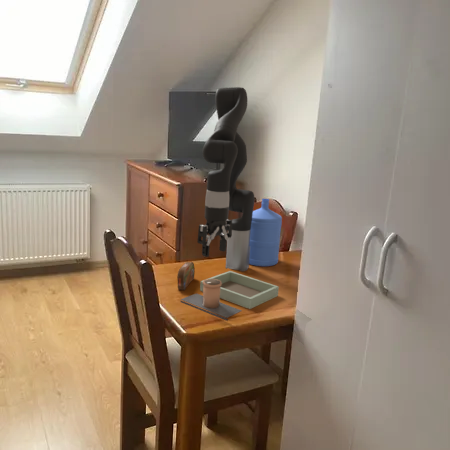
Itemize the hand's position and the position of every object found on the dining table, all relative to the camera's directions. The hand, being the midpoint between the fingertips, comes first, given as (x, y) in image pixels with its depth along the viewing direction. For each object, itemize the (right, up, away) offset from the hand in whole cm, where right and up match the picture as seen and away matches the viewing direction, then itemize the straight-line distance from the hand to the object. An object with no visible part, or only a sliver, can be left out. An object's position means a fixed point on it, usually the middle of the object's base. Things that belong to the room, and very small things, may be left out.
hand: (214, 253), depth 155 cm
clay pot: (-1, -17, +4) cm, 18 cm away
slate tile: (-1, -18, +4) cm, 19 cm away
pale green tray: (+8, -16, +16) cm, 24 cm away
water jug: (+19, -7, +57) cm, 61 cm away
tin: (-11, -14, +22) cm, 28 cm away
